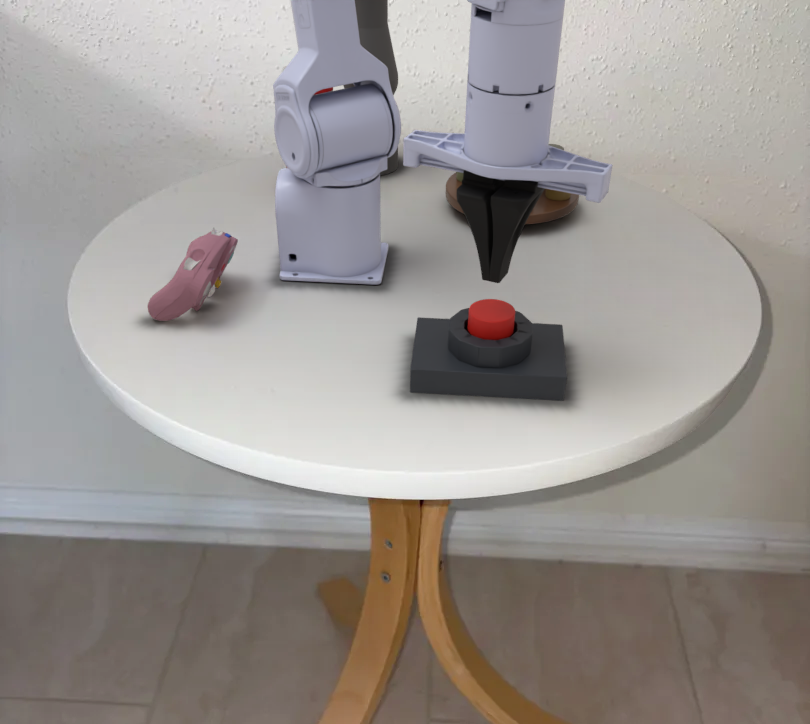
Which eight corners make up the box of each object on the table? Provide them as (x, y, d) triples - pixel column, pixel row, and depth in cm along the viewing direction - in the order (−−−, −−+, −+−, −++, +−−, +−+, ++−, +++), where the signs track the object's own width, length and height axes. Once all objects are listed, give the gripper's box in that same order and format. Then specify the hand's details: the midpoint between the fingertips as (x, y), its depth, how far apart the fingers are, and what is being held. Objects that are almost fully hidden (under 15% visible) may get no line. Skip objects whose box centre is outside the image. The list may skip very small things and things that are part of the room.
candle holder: (408, 162, 106) (412, -97, 89) (379, 180, 102) (376, -88, 85) (364, 151, 108) (359, -103, 91) (334, 168, 104) (323, -95, 87)
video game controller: (189, 343, 79) (214, 280, 74) (141, 317, 78) (163, 252, 74) (228, 290, 86) (252, 229, 82) (184, 265, 85) (206, 203, 81)
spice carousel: (553, 235, 89) (565, 143, 83) (423, 208, 94) (426, 119, 88) (594, 184, 99) (607, 98, 93) (475, 162, 103) (480, 78, 97)
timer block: (409, 393, 71) (410, 348, 69) (417, 340, 77) (417, 297, 74) (563, 401, 71) (570, 357, 68) (559, 347, 76) (565, 304, 74)
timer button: (466, 340, 70) (468, 320, 69) (468, 317, 73) (469, 297, 72) (513, 343, 70) (515, 322, 69) (513, 319, 73) (515, 299, 71)
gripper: (636, 80, 59) (603, 273, 69) (434, 50, 64) (428, 236, 73) (606, 113, 55) (575, 315, 64) (390, 78, 59) (390, 272, 68)
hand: (495, 276), depth 68 cm, fingers closed
